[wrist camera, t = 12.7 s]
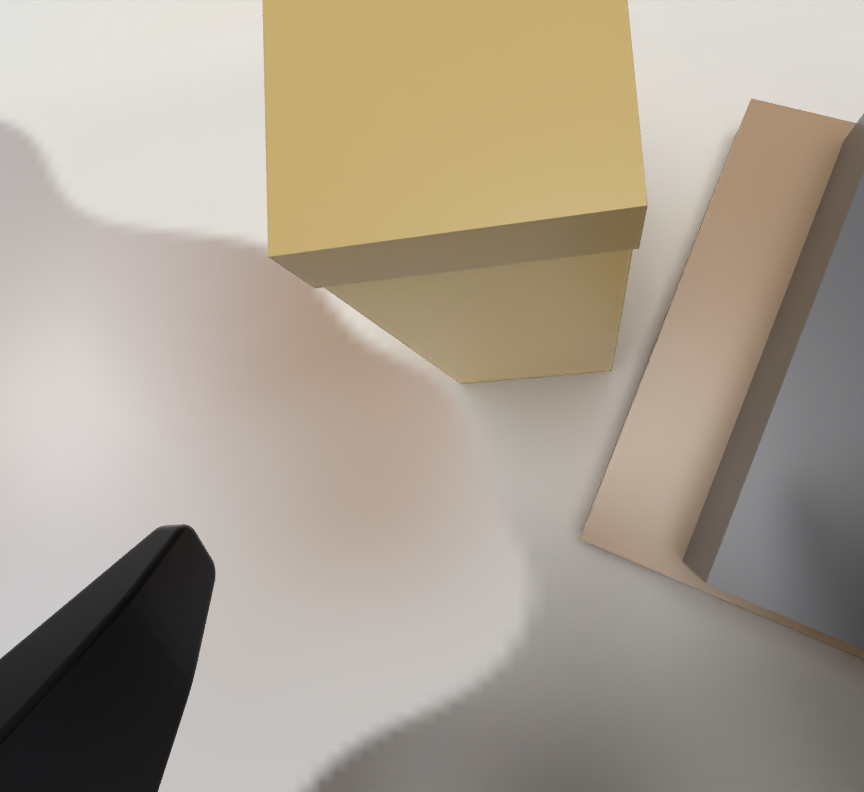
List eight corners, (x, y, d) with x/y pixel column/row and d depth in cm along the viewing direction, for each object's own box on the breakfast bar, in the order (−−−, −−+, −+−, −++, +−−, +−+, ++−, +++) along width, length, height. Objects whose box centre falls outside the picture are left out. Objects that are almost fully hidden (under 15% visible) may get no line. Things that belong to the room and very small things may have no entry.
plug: (614, 372, 16) (646, 205, 6) (458, 385, 17) (267, 257, 7) (598, 189, 17) (604, -232, 7) (448, 210, 17) (259, -137, 8)
